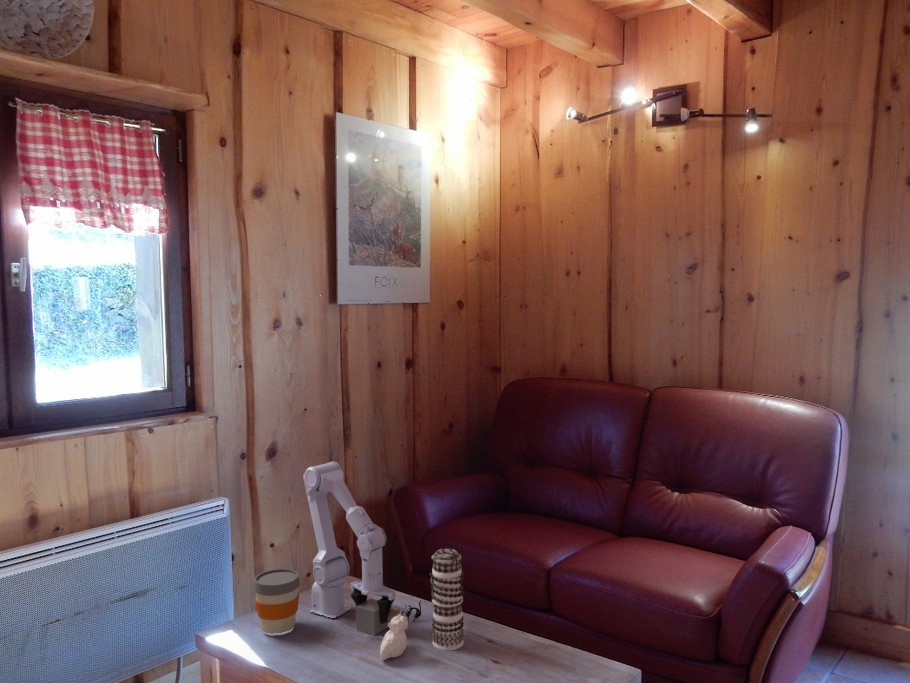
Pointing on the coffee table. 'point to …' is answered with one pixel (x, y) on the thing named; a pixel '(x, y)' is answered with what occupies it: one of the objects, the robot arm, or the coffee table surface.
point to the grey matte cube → (369, 617)
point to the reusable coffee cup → (277, 599)
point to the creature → (418, 614)
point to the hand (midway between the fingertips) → (373, 619)
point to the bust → (394, 638)
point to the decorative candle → (447, 599)
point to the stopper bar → (394, 611)
